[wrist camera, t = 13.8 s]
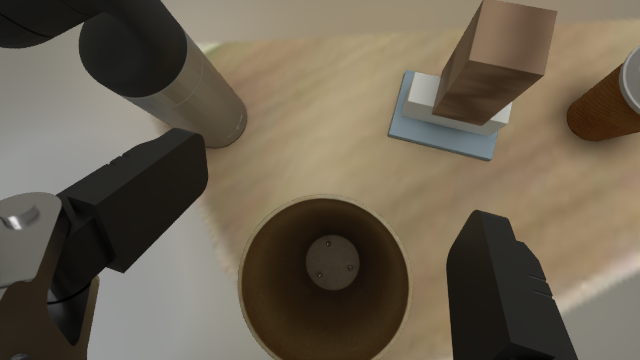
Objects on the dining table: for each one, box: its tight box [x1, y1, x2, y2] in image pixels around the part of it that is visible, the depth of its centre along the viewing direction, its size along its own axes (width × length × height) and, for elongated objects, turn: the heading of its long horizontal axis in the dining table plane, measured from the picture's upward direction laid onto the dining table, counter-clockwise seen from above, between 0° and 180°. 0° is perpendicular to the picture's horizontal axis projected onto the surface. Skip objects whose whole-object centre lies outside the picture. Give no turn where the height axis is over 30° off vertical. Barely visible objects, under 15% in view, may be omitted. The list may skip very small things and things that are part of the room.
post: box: [432, 0, 557, 126], centre depth 31 cm, size 6×6×12 cm
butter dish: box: [388, 70, 512, 161], centre depth 40 cm, size 14×10×6 cm
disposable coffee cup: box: [567, 45, 640, 141], centre depth 35 cm, size 10×10×12 cm
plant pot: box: [238, 194, 413, 360], centre depth 33 cm, size 15×15×16 cm
